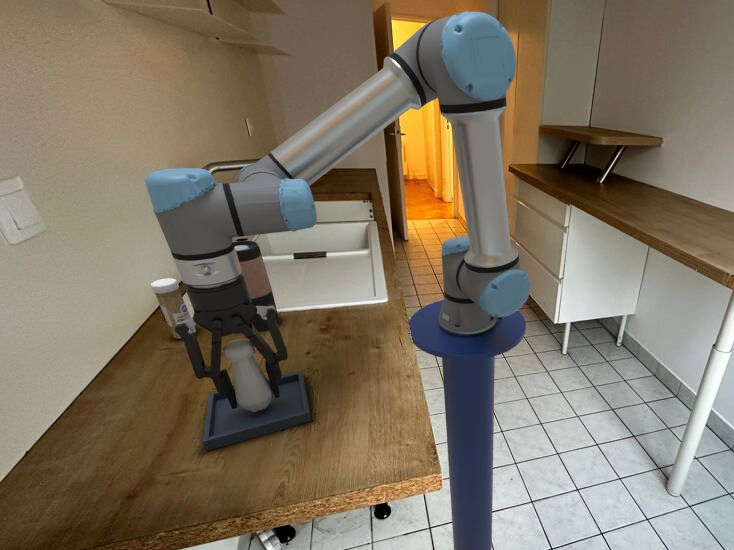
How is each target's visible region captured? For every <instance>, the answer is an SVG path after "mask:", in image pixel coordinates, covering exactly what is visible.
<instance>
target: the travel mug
mask: <svg viewBox="0 0 734 550" xmlns="http://www.w3.org/2000/svg"><path fill="white" fill-rule="evenodd" d="M232 242H233V244H234V247H235V250H236V253H237V256H238V260H239V263H240V266H241V270H242V272H241V275H242V276H243V277H244V279H245V282H246V285H247V288H248V292H249V295H250V298H251V300H252V301H253V302H254V303H255V304H256V305H257V306H268V305H269V304H273V305H275V309H276V318H275V319H276V322H277V324H279V323H280V317H279V312H278V309H277V304H276V300H275V297H274V292H273V289H272V286H271V285H272V284H271V282H270V278H269V275H268V271H267V269H266V265H265V262H264V258H263V254H262V251H261V248H260V246H259V244H258V243H257V242H256V241H254V240H239V241H238V240H237V241H232ZM252 323H253V325H254V327H255V328H256V330H257V331H258V332H260V331H261V332H262V331H265V330H269V329H268V326H267V320H264V319H262V318H261V315H260V314H257V313H256V315H255V317H254V319H253V321H252Z"/></svg>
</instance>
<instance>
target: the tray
mask: <svg viewBox="0 0 734 550" xmlns="http://www.w3.org/2000/svg"><path fill="white" fill-rule="evenodd" d="M281 375H282V374H281ZM267 379H268V381H269V378H267ZM269 382H270V381H269ZM277 383H278V387H279V393H280V397H278V398H275V396H274V393H273V397H272V401H271V403H270V404H269V405H268V406H267V408H265V409H262V410H259V411H256V412H252V411H248V410H245V409H244V408H243V407H241V406H240V405H239V404H237V408H235V409H232V407H231V405H230V402H229V400H228V397H227V395H226V392H223V393H219V392H217V390H216V391H212V392H211V391H210V392H209V393H208V398H207V406H206V413H205V419H204V425H203V426H204V427H203V435H202V444H203V446H204V448H205V451H206V452H210V451H213V450H216V449H219V448H222V447H226V446H229V445H232V444H237V443H241V442H244V441H248V440H250V439H255V438H257V437H261V436H264V435H268V434H271V433H275V432H278V431H282V430H286V429H289V428H292V427H295V426H299V425H302V424H305V423H310V422H312V416H311V409H310V404H309V397H308V392H307V387H306V381H305V376H304V373H303V370H300V371H296V372H291V373H287V374H283V375H282V376H281V379H277ZM233 388H234V386H233ZM234 390H235V388H234Z"/></svg>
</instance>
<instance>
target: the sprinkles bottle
mask: <svg viewBox="0 0 734 550" xmlns="http://www.w3.org/2000/svg"><path fill="white" fill-rule="evenodd" d="M150 288H151V290H152V293H154V295H155V297H156V299H157V301H158V304H159V307H160V310H161V311H162V313H163V316H164V318H165V320H166V323H167V326H168V327H169V328H170V331H171V333H172V337H173V338H175V339H180V340H181V339H182V338H181V337H180V336H179V335H178V334H177V333H176V332H175V326H176V323H177V321H178V320H179V319H184V320H186V319H188V318H191V317H192V316H191V313H190V312H189V309H188V307H187V305H186V303H185V300H184V298H183V296H182V293H181V290H180V286H179V283H178V281H177V279H175V278H170V277H169V278H168V277H167V278H161V279H157V280H155V281H152V282H151V283H150ZM196 333H197V329H196V330H195V334H196Z"/></svg>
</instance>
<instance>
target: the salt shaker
mask: <svg viewBox="0 0 734 550" xmlns="http://www.w3.org/2000/svg"><path fill="white" fill-rule="evenodd" d="M222 350H223V354H224V357H225V359H226V360H227V361H230V363H231V370H232V377H233V378H232V379H233V387H234V388H235V397H236V401H237V403H238V404H239V405H240V406H241V407H243V408H244V409H245V410H248V411H252V412H256V411H259V410H262V409H265V408H267V406H268V405H269V404H270V403H271V401H272V397H273V390H272V387H271V384H270V382H269V381H268V379H269V378H267V376H266V374H265V373H264V371H263V370H262V368H261V367H260V365H259V363H258V362H257V359H255V357H254V354H255V352H256V348H255V346H254V345H253V344H252V343H251V342H250V340H249V339H248V338H237V339H234V340H231V341H229V342H227V343H226V344H225V345H224V347H223V349H222Z"/></svg>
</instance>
